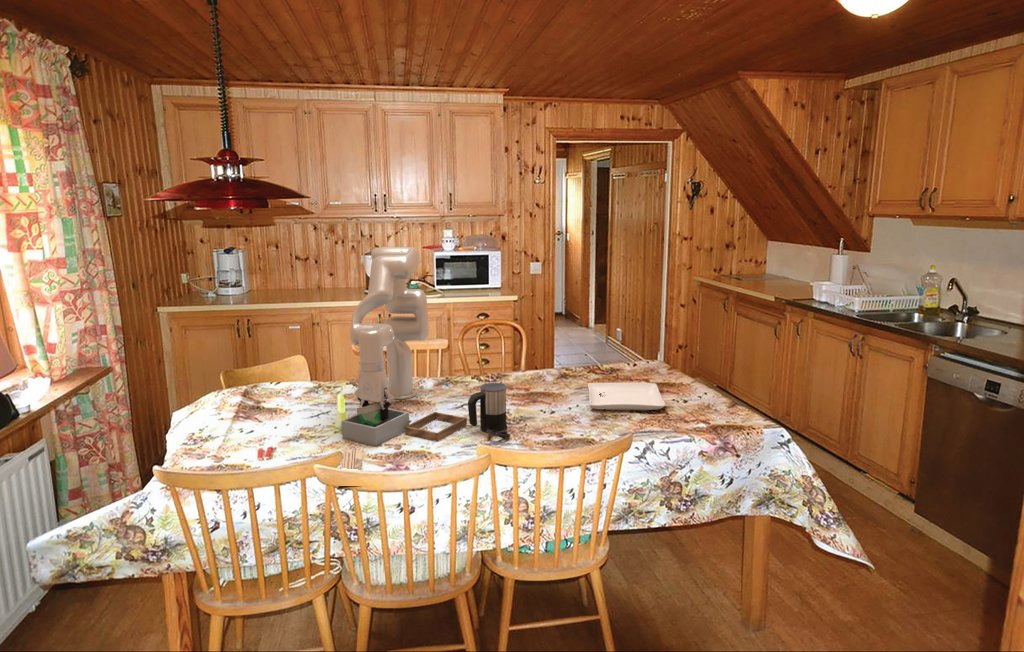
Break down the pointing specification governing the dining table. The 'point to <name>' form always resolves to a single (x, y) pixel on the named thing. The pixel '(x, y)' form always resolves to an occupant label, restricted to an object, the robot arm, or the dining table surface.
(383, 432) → the grey bin
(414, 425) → the walnut frame
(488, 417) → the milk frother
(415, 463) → the dining table surface
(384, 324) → the robot arm
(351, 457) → the newspaper
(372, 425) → the food container
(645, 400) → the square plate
